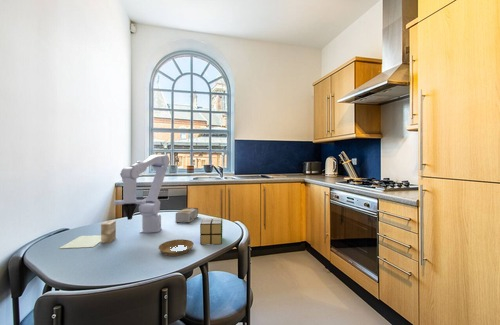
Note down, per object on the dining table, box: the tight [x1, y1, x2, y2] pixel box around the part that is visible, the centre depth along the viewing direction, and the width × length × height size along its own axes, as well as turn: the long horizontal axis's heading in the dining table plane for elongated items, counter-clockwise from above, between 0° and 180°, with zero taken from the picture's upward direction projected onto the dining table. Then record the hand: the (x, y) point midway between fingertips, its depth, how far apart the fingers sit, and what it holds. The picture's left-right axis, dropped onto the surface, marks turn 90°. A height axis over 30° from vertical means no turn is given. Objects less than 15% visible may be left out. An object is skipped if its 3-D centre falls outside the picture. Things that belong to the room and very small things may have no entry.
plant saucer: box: [158, 238, 195, 257], centre depth 101 cm, size 15×15×3 cm
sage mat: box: [58, 234, 101, 250], centre depth 111 cm, size 14×16×1 cm
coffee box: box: [174, 207, 199, 223], centre depth 151 cm, size 9×6×16 cm
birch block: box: [100, 220, 117, 244], centre depth 112 cm, size 4×6×9 cm, turn 7°
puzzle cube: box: [199, 217, 223, 246], centre depth 113 cm, size 10×10×10 cm
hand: (129, 219), depth 113 cm, fingers closed
